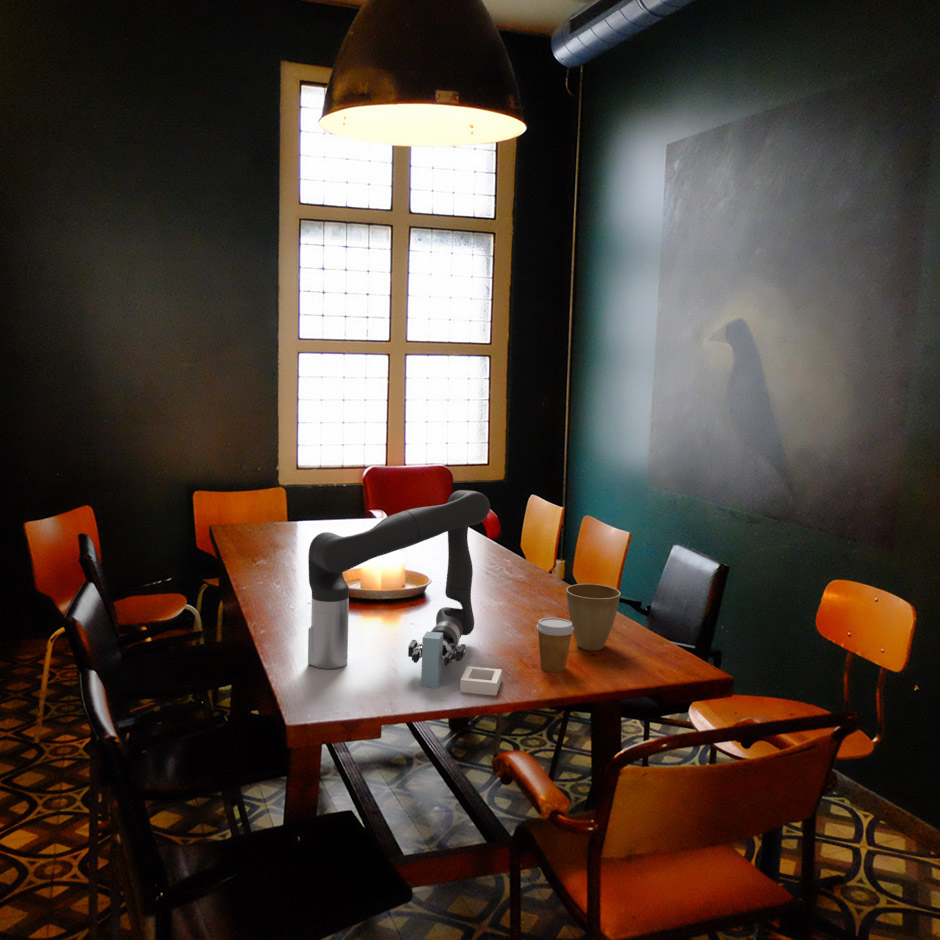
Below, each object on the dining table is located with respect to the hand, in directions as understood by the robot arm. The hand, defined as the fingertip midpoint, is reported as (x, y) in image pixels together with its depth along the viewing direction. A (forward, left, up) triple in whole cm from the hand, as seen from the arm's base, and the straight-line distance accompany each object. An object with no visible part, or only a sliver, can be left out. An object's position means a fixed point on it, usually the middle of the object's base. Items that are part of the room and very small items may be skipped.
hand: (430, 660), depth 207 cm
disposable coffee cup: (+28, +21, -7) cm, 36 cm away
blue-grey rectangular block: (0, +2, -6) cm, 7 cm away
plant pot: (+37, +41, -7) cm, 56 cm away
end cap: (+12, +3, -6) cm, 14 cm away
